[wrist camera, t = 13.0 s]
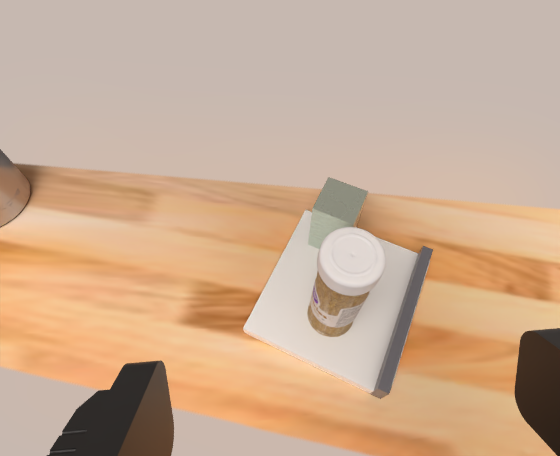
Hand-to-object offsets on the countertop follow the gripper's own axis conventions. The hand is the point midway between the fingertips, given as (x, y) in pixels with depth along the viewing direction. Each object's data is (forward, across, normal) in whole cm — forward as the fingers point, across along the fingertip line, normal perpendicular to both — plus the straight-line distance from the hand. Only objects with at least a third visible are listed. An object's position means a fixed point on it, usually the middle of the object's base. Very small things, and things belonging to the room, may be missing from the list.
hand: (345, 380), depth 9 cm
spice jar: (+26, -4, +12) cm, 29 cm away
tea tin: (+32, -6, +6) cm, 33 cm away
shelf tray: (+29, -6, +12) cm, 32 cm away
